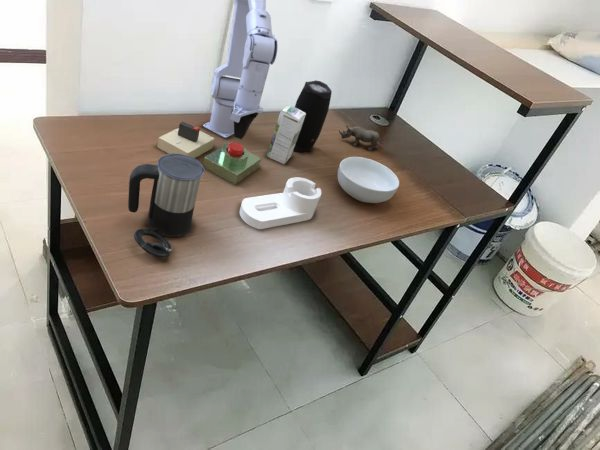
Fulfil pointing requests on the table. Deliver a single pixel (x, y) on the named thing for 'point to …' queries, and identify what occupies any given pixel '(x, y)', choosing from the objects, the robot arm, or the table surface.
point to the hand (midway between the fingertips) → (238, 136)
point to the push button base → (231, 164)
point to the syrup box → (286, 134)
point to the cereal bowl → (367, 180)
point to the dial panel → (185, 144)
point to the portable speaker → (312, 113)
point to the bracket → (282, 205)
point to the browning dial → (188, 131)
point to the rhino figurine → (361, 136)
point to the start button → (235, 149)
